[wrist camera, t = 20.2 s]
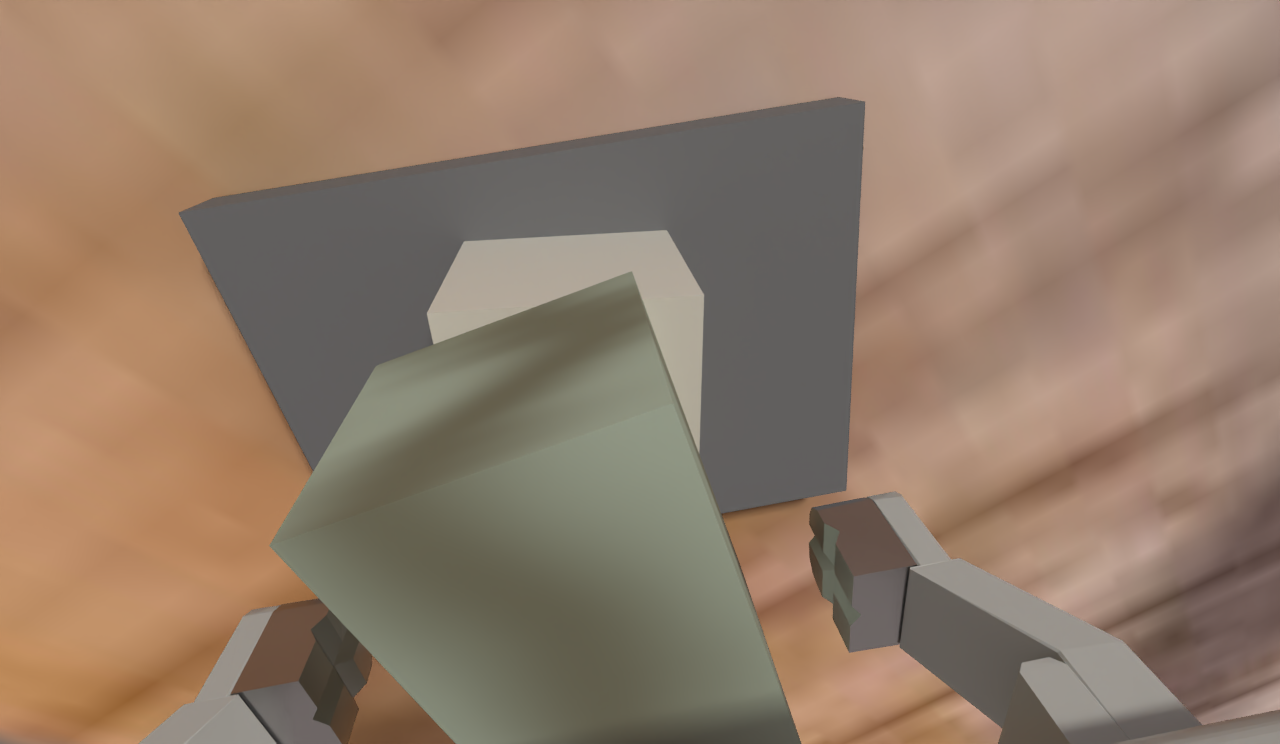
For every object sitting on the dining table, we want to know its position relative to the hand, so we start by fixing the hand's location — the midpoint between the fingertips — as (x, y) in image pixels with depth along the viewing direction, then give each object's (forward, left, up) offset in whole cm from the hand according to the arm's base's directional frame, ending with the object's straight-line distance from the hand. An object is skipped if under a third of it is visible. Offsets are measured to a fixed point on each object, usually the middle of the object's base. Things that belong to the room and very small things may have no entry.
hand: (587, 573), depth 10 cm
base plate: (0, 0, -9) cm, 9 cm away
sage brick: (0, 0, -3) cm, 3 cm away
